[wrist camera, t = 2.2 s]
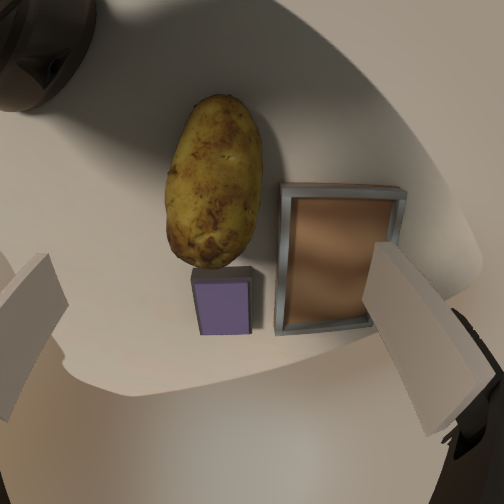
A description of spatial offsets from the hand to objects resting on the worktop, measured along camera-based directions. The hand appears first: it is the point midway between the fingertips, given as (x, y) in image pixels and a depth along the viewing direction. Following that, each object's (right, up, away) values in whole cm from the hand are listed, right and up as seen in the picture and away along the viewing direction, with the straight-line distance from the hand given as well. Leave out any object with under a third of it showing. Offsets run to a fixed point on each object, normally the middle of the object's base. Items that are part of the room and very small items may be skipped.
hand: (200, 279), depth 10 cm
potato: (-1, +8, +14) cm, 16 cm away
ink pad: (-1, -4, +21) cm, 21 cm away
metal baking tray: (+11, 0, +19) cm, 22 cm away
